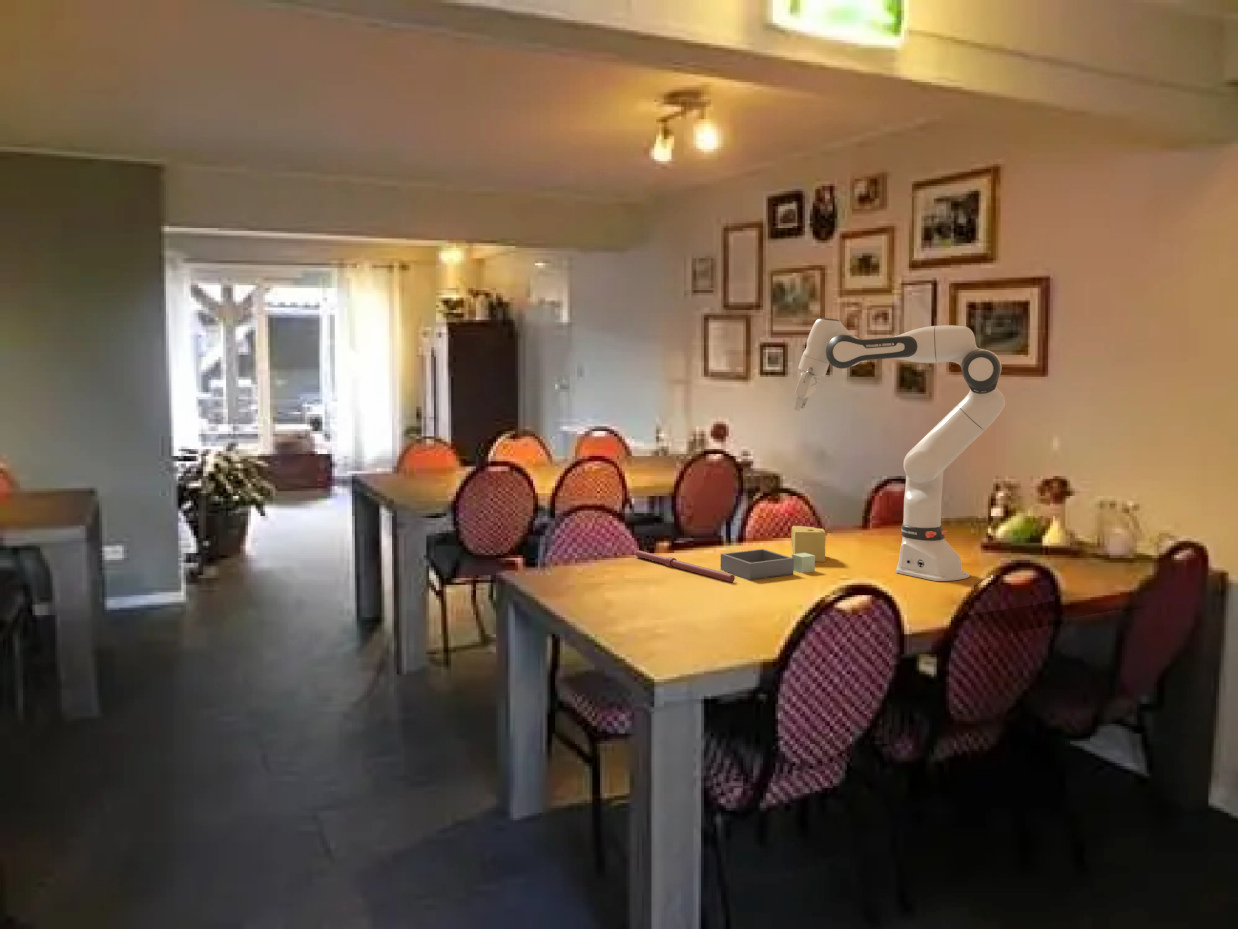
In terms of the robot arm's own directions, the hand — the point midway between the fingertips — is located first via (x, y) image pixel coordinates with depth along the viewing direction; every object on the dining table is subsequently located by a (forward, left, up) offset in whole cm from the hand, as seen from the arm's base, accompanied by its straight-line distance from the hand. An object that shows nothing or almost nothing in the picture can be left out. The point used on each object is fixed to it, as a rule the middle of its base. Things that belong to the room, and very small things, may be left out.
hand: (799, 409), depth 319 cm
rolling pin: (+7, +38, -50) cm, 63 cm away
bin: (-7, +20, -49) cm, 54 cm away
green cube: (-12, +6, -49) cm, 51 cm away
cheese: (+1, -6, -50) cm, 50 cm away
